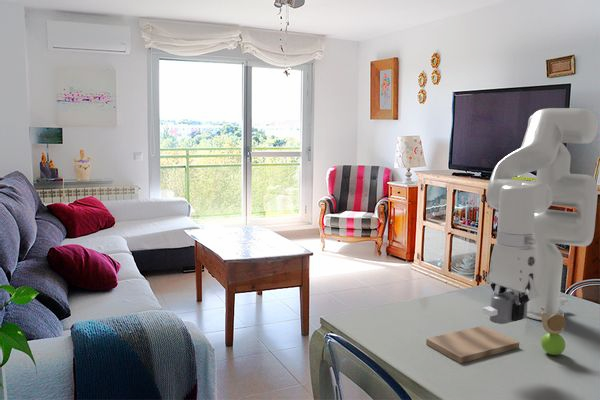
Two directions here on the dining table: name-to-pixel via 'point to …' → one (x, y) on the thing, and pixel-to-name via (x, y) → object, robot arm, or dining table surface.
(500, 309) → the block
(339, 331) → the dining table surface
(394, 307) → the dining table surface
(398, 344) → the dining table surface
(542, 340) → the snail figurine
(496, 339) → the walnut board
